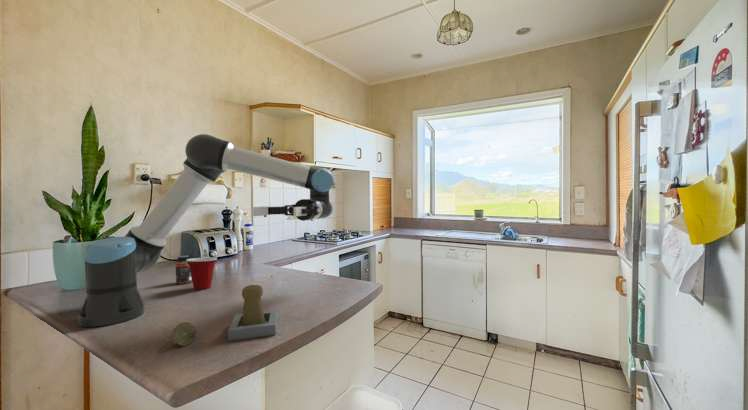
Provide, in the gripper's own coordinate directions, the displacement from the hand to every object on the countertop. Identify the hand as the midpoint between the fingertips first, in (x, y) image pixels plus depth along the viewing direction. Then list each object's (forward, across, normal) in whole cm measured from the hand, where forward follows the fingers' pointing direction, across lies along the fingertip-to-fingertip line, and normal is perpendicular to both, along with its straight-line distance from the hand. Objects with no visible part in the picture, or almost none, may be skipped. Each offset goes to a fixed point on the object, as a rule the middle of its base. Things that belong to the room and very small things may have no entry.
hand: (273, 211), depth 91 cm
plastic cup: (-20, +46, -31) cm, 59 cm away
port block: (+10, 0, -31) cm, 32 cm away
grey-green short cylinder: (+21, +12, -31) cm, 39 cm away
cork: (+9, 0, -31) cm, 32 cm away
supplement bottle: (-25, +60, -31) cm, 73 cm away
